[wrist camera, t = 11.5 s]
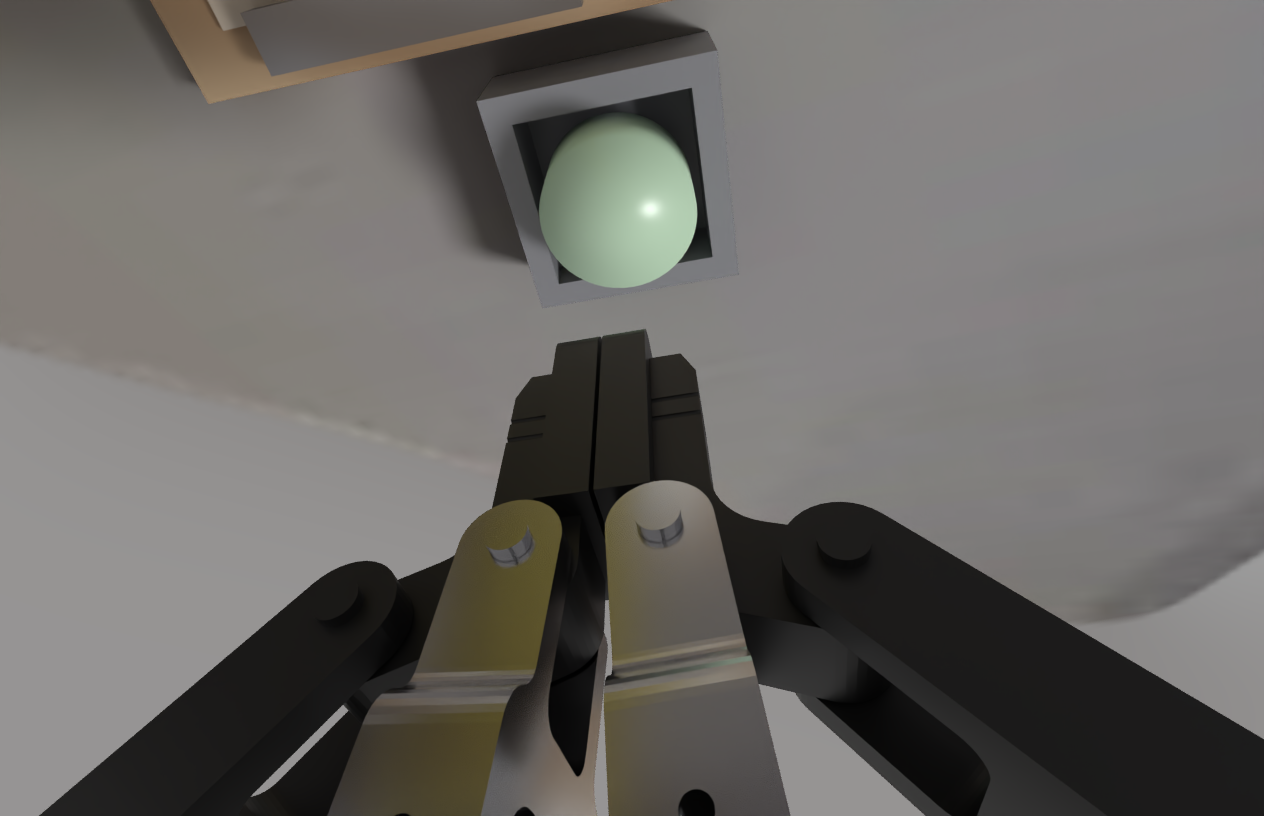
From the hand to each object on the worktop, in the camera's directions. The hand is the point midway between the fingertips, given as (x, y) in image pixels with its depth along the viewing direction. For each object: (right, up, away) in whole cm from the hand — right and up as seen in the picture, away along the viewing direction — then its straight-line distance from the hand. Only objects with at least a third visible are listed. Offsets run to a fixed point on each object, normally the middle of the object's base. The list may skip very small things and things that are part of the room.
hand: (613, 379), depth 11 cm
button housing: (0, +7, +8) cm, 11 cm away
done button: (0, +6, +7) cm, 9 cm away
